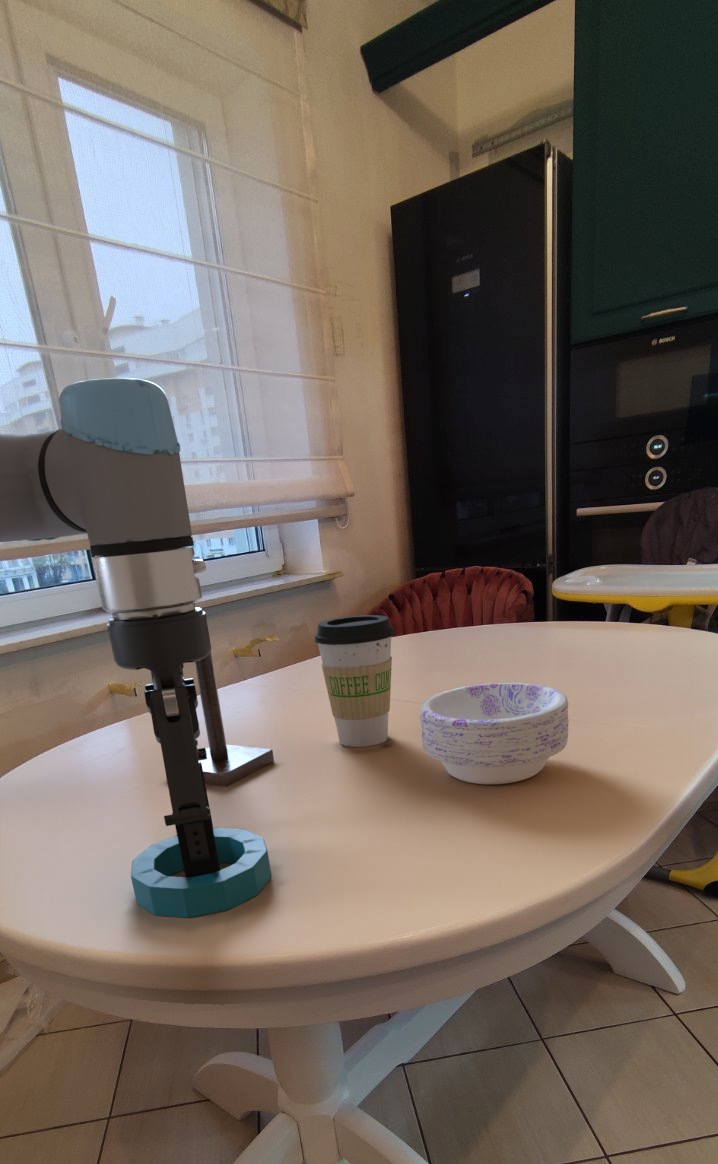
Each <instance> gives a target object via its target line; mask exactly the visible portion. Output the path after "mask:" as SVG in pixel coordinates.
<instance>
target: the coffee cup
mask: <svg viewBox="0 0 718 1164" xmlns="http://www.w3.org/2000/svg"><path fill="white" fill-rule="evenodd" d="M395 634H396V633H395V631H394V627H393V626H391V624H390V620H389V617H388V616H385V615H379V614H378V615H377V614H376V615H375V614H367V615H365V614H364V615H363V614H362V615H351V616H342V617H336V618H331V619H326V620H323V621H320V622H319V623H318V624H317V631H316V633H315V635H314V638H313V639H314V640H313V641H314V643H316V644H318V650H319V655H320V658H321V669H322V673H323V677H324V682H325V687H326V691H327V695H328V700H329V704H330V705H329V706H330V709H331V713H332V716H333V717H334V718H333V719H334V722H335V727H336V732H337V736H338V740H339V743H340V744H341V745H342V746H345V747H350V748H363V747H365V748H366V747H372V746H377V745H380V744H383V743H384V742H386V741H387V740H388V738H389V737H388V733H389V732H388V731H389V713H390V710H391V688H392V666H393V665H392V664H393V663H392V661H393V657H392V656H391V654H392V653H391V652H392V651H391V650H392V637H393V636H395Z"/></svg>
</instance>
